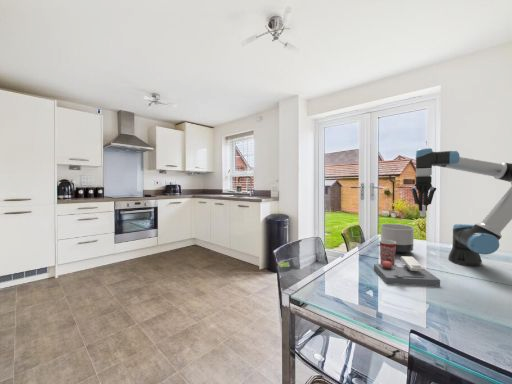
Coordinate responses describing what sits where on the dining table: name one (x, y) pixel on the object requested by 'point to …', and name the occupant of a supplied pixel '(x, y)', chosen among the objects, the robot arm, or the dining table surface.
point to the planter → (399, 236)
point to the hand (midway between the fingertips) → (422, 216)
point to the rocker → (412, 263)
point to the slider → (399, 270)
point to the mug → (387, 250)
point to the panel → (406, 276)
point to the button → (387, 264)
